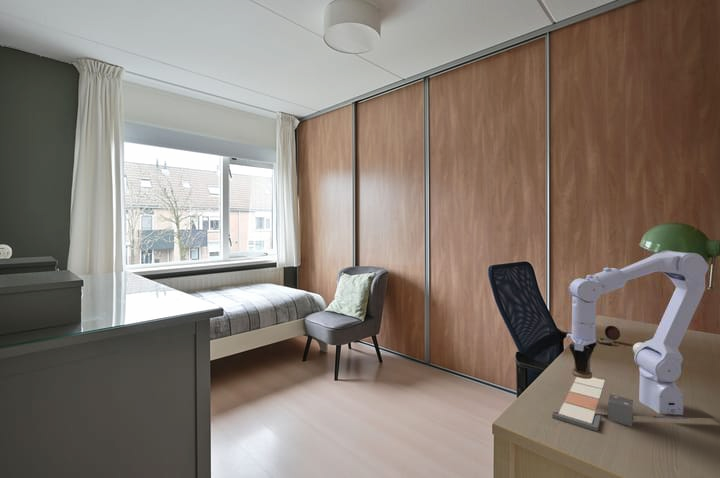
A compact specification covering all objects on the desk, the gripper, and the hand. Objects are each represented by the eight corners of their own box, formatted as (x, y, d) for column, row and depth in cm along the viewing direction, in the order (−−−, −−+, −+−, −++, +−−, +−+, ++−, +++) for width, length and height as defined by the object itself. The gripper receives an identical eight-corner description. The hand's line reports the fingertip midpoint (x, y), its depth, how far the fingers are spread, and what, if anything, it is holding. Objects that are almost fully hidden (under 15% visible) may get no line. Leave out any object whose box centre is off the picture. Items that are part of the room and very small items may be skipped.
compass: (593, 341, 153) (593, 325, 153) (606, 339, 156) (606, 323, 155) (611, 347, 146) (612, 330, 145) (625, 345, 148) (625, 328, 148)
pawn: (595, 379, 98) (596, 347, 97) (577, 378, 98) (578, 346, 98) (586, 372, 102) (586, 341, 102) (568, 371, 103) (569, 341, 102)
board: (597, 431, 87) (597, 426, 87) (552, 417, 94) (552, 412, 93) (610, 384, 112) (610, 380, 112) (573, 376, 119) (573, 372, 119)
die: (631, 426, 89) (632, 407, 89) (607, 419, 92) (608, 400, 92) (632, 418, 93) (633, 399, 93) (609, 412, 96) (610, 393, 96)
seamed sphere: (652, 357, 135) (652, 342, 135) (649, 361, 131) (650, 346, 131) (627, 351, 141) (628, 338, 140) (624, 355, 137) (625, 341, 137)
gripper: (572, 314, 108) (571, 357, 108) (562, 324, 97) (561, 373, 97) (599, 318, 103) (598, 363, 104) (592, 329, 92) (591, 380, 93)
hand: (582, 368), depth 100 cm, fingers closed on pawn, 4 cm apart
